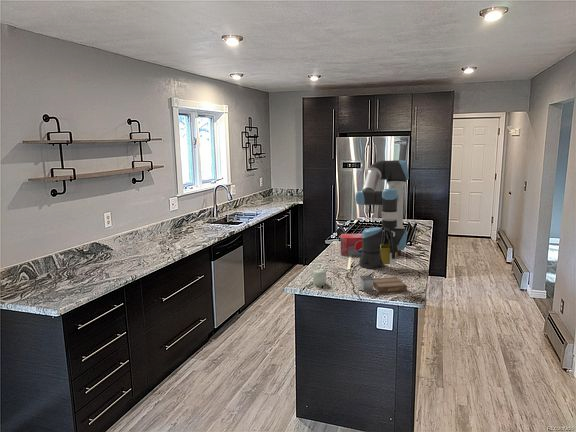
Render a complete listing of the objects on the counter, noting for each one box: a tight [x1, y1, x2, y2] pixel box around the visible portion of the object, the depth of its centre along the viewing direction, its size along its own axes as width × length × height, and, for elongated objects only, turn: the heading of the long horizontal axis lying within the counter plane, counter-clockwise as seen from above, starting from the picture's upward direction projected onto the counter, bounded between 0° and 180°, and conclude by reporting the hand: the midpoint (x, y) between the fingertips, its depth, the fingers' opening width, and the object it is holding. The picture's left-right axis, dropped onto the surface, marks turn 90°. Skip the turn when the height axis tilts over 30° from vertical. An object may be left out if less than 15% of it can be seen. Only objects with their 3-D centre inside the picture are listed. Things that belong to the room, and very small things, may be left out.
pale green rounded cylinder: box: [312, 269, 327, 287], centre depth 226 cm, size 7×7×7 cm
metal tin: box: [360, 275, 375, 293], centre depth 215 cm, size 5×5×7 cm
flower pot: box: [380, 244, 398, 265], centre depth 215 cm, size 9×9×9 cm
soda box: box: [339, 233, 402, 256], centre depth 286 cm, size 40×14×13 cm, turn 82°
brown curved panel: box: [373, 276, 408, 294], centre depth 217 cm, size 14×14×3 cm
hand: (388, 261), depth 215 cm, fingers closed on flower pot, 10 cm apart
